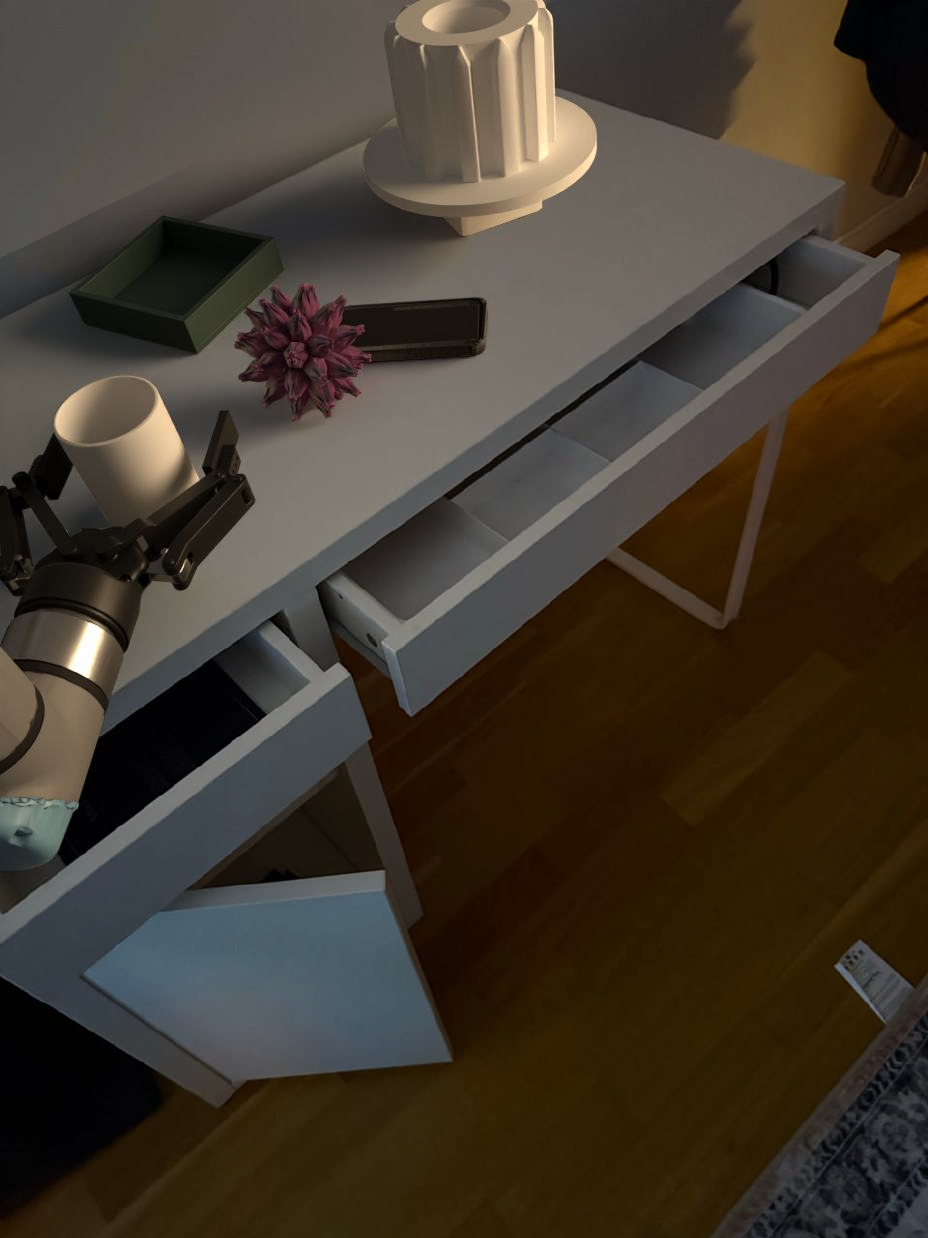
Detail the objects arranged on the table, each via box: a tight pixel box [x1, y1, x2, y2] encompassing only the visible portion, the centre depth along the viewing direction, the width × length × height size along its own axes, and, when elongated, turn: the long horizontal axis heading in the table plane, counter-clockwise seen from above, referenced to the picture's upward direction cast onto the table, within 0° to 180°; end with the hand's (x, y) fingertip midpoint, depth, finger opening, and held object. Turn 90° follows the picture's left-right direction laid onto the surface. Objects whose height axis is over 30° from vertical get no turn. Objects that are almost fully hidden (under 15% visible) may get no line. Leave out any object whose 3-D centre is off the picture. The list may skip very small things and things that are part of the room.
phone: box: [339, 296, 489, 362], centre depth 88 cm, size 8×1×15 cm
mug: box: [51, 375, 201, 551], centre depth 73 cm, size 12×8×12 cm
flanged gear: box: [362, 0, 598, 237], centre depth 94 cm, size 25×25×19 cm
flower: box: [233, 282, 372, 422], centre depth 79 cm, size 12×12×12 cm
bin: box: [67, 214, 285, 355], centre depth 96 cm, size 16×16×4 cm
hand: (149, 427), depth 74 cm, fingers open, 13 cm apart
